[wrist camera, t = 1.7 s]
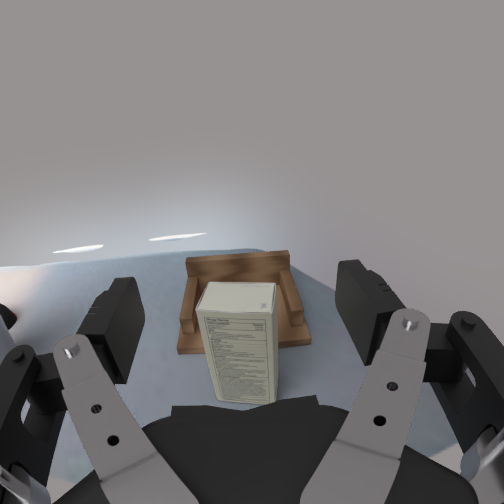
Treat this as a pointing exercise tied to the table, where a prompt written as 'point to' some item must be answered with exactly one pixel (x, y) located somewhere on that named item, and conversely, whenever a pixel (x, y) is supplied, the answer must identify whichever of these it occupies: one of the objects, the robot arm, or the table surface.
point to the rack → (243, 270)
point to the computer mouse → (7, 316)
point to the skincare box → (241, 340)
